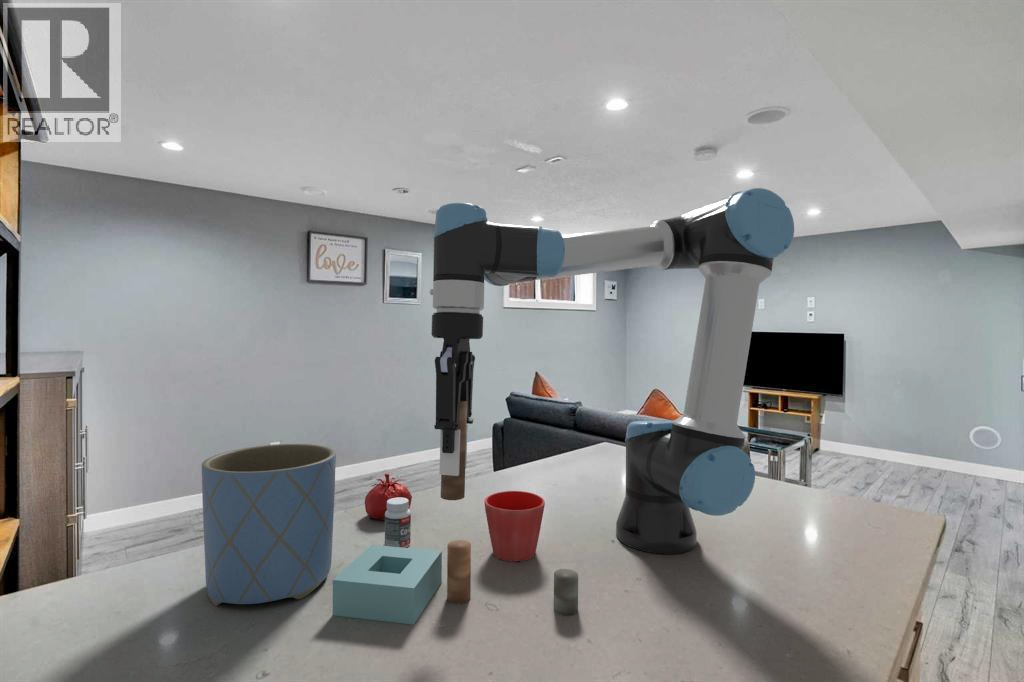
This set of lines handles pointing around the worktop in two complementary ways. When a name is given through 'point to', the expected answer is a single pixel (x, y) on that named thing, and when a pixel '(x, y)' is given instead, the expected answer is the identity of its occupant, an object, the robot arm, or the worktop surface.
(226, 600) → the planter
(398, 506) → the pill bottle
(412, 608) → the collar
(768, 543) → the worktop surface
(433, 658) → the worktop surface
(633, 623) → the worktop surface
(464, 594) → the pin medium
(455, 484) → the pin long
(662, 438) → the robot arm
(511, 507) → the flower pot
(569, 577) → the pin short
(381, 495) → the pomegranate
